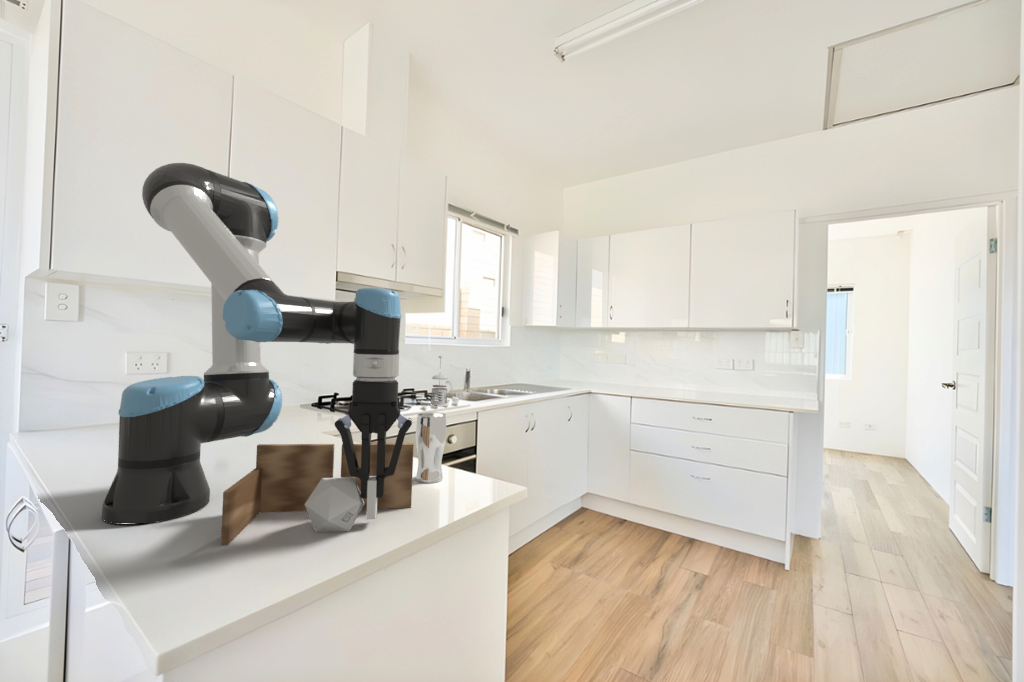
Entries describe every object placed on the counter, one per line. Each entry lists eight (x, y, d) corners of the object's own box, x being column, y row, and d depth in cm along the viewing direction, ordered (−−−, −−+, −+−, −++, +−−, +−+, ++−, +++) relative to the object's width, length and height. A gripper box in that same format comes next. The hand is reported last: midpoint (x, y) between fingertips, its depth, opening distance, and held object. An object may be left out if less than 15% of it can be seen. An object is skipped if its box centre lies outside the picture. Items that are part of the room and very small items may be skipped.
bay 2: (339, 509, 82) (341, 445, 82) (340, 507, 83) (342, 443, 83) (411, 507, 85) (413, 444, 85) (411, 505, 86) (413, 443, 86)
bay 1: (220, 545, 67) (224, 465, 67) (256, 510, 80) (259, 444, 81) (312, 541, 69) (315, 464, 69) (331, 508, 83) (334, 443, 83)
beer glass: (430, 486, 98) (432, 417, 98) (407, 479, 101) (409, 414, 101) (450, 478, 104) (453, 414, 104) (428, 473, 107) (430, 411, 107)
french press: (434, 403, 231) (435, 355, 231) (454, 404, 228) (456, 356, 228) (425, 405, 221) (427, 355, 221) (447, 407, 218) (449, 356, 218)
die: (333, 548, 68) (373, 489, 72) (285, 517, 69) (327, 460, 73) (343, 545, 76) (379, 492, 80) (300, 517, 76) (337, 466, 80)
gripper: (331, 380, 71) (326, 527, 71) (413, 381, 74) (409, 523, 74) (340, 376, 79) (336, 509, 79) (414, 377, 81) (411, 506, 81)
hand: (371, 516), depth 76 cm, fingers closed
